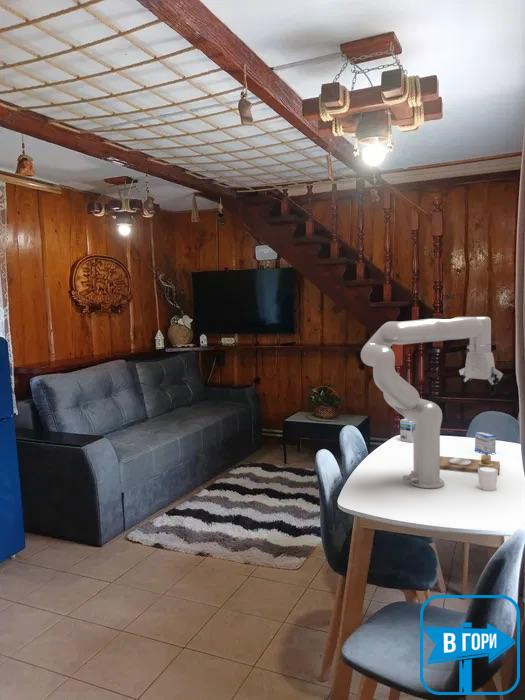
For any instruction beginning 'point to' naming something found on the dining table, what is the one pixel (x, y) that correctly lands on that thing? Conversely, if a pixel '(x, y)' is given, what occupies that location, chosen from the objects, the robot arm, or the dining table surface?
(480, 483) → the white short cylinder
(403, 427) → the light bulb box
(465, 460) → the fitting board
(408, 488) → the dining table surface
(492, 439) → the medicine box
